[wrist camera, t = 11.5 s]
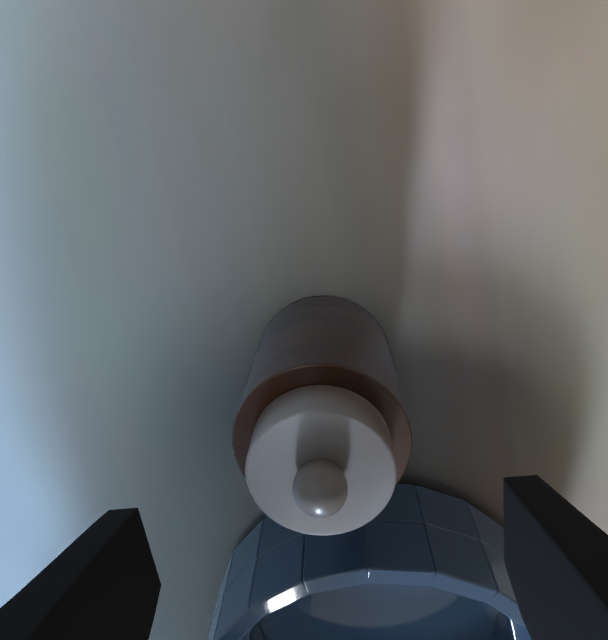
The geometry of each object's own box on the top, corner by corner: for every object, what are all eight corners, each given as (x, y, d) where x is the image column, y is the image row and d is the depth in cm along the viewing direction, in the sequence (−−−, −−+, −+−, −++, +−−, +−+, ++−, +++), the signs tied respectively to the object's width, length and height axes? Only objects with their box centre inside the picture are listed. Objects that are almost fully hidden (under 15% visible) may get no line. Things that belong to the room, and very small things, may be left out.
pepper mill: (241, 389, 18) (187, 552, 11) (284, 276, 17) (252, 382, 10) (358, 430, 18) (376, 612, 12) (410, 323, 17) (466, 457, 10)
